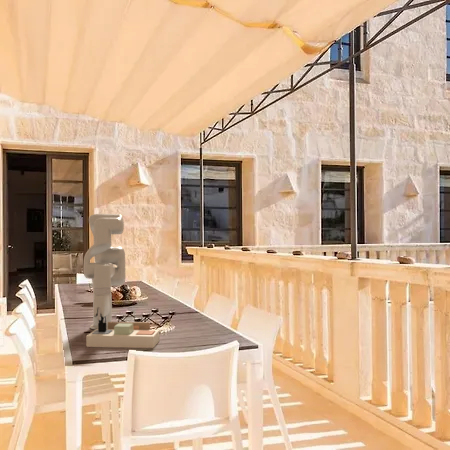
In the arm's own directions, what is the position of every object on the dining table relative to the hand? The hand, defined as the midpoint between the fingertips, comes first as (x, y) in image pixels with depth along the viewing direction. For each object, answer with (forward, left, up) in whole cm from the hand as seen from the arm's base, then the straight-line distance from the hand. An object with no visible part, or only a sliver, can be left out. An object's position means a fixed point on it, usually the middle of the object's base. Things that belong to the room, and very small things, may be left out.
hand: (102, 331), depth 231 cm
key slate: (0, 0, -4) cm, 4 cm away
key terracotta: (0, +20, -4) cm, 20 cm away
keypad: (-1, +10, -5) cm, 11 cm away
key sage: (0, +10, -1) cm, 10 cm away
